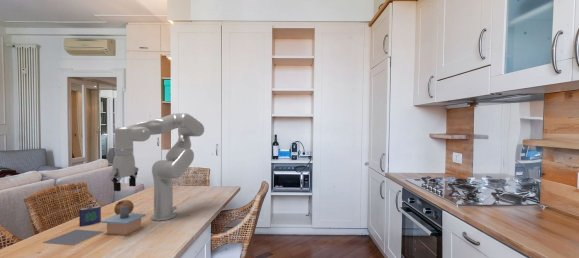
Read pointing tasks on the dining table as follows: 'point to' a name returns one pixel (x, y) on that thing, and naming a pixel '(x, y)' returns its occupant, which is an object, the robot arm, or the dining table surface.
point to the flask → (89, 215)
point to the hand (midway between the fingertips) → (125, 188)
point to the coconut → (123, 203)
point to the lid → (124, 217)
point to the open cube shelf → (123, 228)
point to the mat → (73, 237)
